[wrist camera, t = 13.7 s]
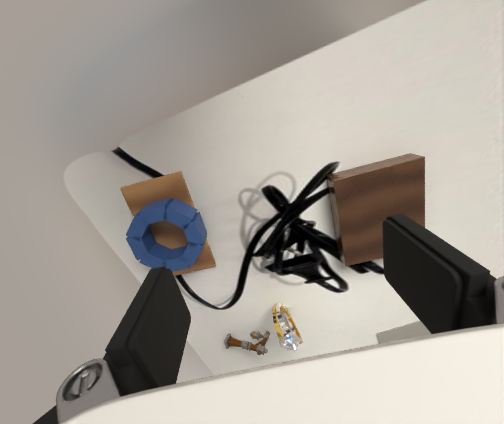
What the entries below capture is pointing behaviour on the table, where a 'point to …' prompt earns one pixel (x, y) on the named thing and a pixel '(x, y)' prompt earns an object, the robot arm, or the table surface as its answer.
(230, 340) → the wooden post with brackets
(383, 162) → the platform
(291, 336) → the ring
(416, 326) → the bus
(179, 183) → the mat
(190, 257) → the ring
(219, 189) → the table surface
